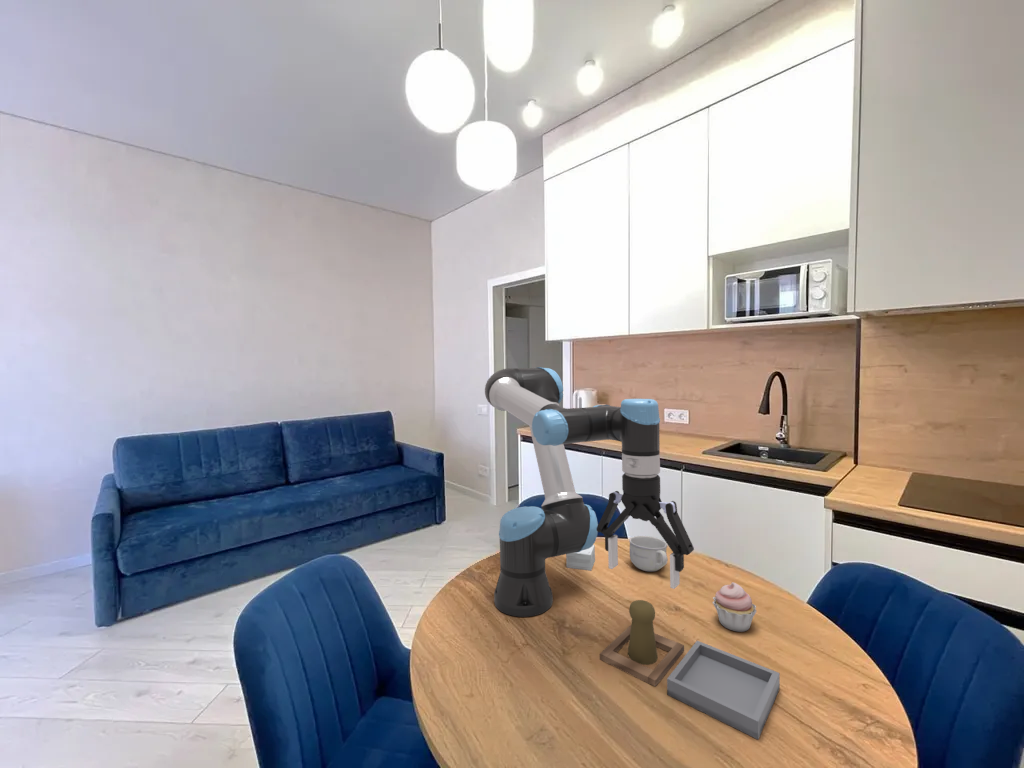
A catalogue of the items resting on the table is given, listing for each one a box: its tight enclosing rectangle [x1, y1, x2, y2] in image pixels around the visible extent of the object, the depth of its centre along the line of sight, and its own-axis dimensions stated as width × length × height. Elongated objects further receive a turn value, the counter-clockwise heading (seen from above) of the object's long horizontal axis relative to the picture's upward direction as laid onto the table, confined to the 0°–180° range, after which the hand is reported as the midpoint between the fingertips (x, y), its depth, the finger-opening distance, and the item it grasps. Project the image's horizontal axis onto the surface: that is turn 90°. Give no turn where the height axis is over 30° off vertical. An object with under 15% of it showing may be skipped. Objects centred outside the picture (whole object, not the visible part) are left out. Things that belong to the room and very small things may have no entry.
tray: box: [666, 640, 781, 740], centre depth 81 cm, size 15×15×3 cm
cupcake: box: [712, 581, 757, 633], centre depth 102 cm, size 9×9×10 cm
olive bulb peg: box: [627, 599, 658, 666], centre depth 92 cm, size 6×6×11 cm
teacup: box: [628, 535, 668, 573], centre depth 131 cm, size 14×11×8 cm
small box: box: [565, 544, 596, 572], centre depth 136 cm, size 8×8×5 cm
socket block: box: [599, 624, 685, 687], centre depth 92 cm, size 12×14×1 cm
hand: (642, 575), depth 91 cm, fingers open, 13 cm apart
